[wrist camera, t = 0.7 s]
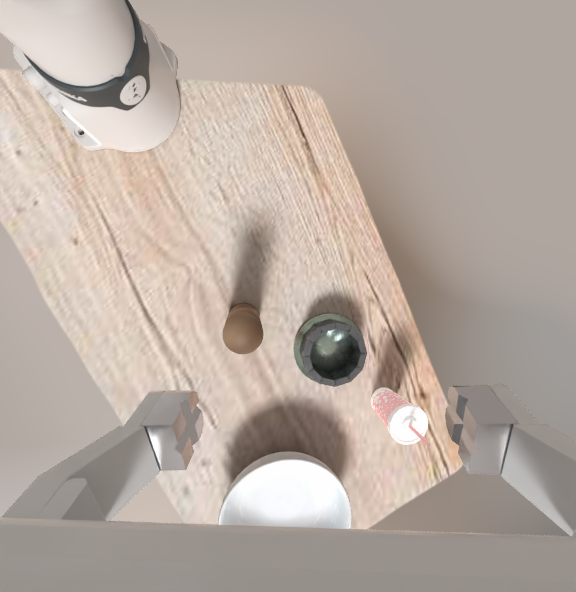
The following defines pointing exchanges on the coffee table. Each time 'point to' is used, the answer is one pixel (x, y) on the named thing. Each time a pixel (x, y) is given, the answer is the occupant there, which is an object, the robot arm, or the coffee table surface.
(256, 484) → the serving bowl
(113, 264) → the coffee table surface
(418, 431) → the beverage cup
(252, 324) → the brown rounded cylinder
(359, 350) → the cup holder
